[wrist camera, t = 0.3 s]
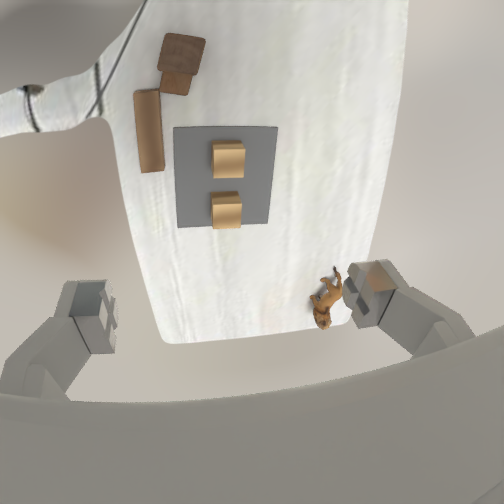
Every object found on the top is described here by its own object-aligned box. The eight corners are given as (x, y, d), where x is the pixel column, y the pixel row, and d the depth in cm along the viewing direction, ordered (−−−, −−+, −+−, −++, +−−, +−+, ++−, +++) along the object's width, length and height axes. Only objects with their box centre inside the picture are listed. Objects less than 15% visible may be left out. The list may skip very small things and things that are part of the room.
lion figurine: (320, 307, 85) (332, 332, 78) (303, 307, 84) (314, 332, 77) (342, 266, 77) (357, 290, 70) (324, 264, 76) (338, 290, 68)
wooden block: (187, 92, 46) (187, 114, 32) (160, 88, 45) (148, 109, 31) (200, 41, 41) (206, 38, 27) (172, 37, 40) (165, 32, 26)
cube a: (211, 140, 52) (214, 149, 48) (240, 140, 53) (245, 149, 49) (211, 167, 55) (213, 178, 51) (238, 166, 56) (243, 177, 52)
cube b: (210, 191, 58) (213, 204, 54) (237, 191, 59) (241, 203, 55) (210, 215, 61) (212, 229, 57) (236, 214, 62) (240, 227, 58)
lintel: (143, 166, 53) (141, 173, 51) (136, 91, 44) (133, 93, 42) (165, 164, 54) (164, 170, 51) (159, 88, 45) (158, 90, 43)
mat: (173, 127, 49) (173, 128, 49) (277, 127, 53) (277, 127, 53) (177, 226, 61) (177, 227, 61) (267, 222, 65) (267, 223, 65)
